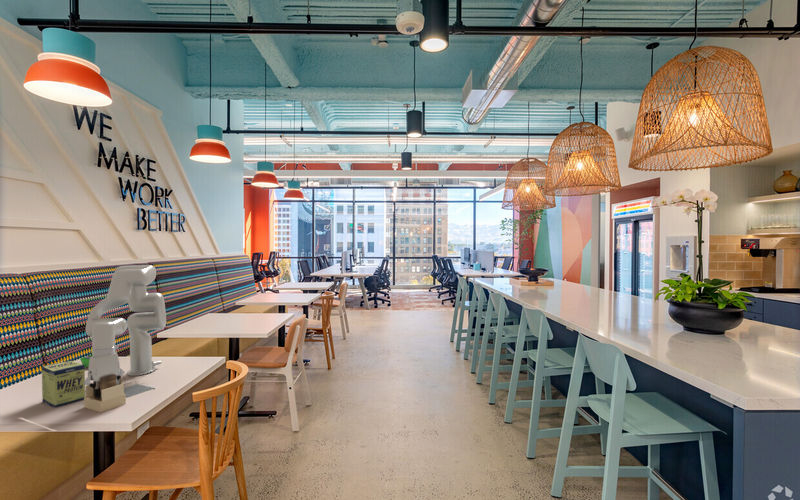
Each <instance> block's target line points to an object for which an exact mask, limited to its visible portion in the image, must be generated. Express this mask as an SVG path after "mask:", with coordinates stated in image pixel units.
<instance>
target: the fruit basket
mask: <svg viewBox="0 0 800 500" xmlns="http://www.w3.org/2000/svg"><path fill="white" fill-rule="evenodd" d="M90 353H91V354H88V355H87V356H84V357H80V358H79V360H80V362H81V364H83V365H84V368H88V366H89V360H90V357H92V356H93V350H92V349H91V350H90Z"/></svg>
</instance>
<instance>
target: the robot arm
mask: <svg viewBox="0 0 800 500" xmlns="http://www.w3.org/2000/svg"><path fill="white" fill-rule="evenodd" d="M156 277H157V269H156V267H155V266H154V265H151V264H150V265H149V264H142V265H137V264H136V265H120V266H117V267H116V268H115V269H114V273H113V275H112V277H111V281H110V284H109V287H108V291H107V296H106V297H105V298H103V299H101V300H100V301H99V302H98V303H97V304H96V305H95V306H93V308H92V309H91V310H90V312H89V313H88V318H87V320H86V324H85V334H87V336H89V337H91V343H92V345H91V346H92V347H91V350H93V356H92V357H90V360H89V366H88V367H87V377H86V378H85V381H84V384H85V386H87V385H88V386H90V387H92V388H93V392H94V397H95V398H100V388H99V385H100V381H101V378H103V377H107V376H110V375H114V374H115V375H116V383H117V382H118V380H119V379H120V378H121V379H122V377H123V375H124V374H125V371H124V370H123V369H122V368H121V365H120V359H119V355H118V352H117V350H118V349H119V346H118V345H116V337H117V336H120V335H122V334H124V333H125V332H126V330H127V329H128V334H129V356H130V357H129V358H130V359H129V360H130V364H129V365H130V367H129V368H130V370H128V371H127V372H126V375H127V376H130V377H135V376H143V374H144V375H147V373H148V374H151V373H153V371H154V370H155V371H156V366H159V365H161V364H162V360H158V361H153V351H152V336H151V335H150V333H148V331H154V330H155V331H156V330H162V329H164V328H165V327H166V325H167V312H166V311H167V310H166V304H165V298H164V295H163V294H162V293H159V292H147V286H149V285H150V284H151V283H153V282H154V281H155V279H156ZM125 304H126V305H127V304H128V307H129V310H130V311H131V312H135V313H132V314H130V315H129V316H128V317H127V320H126V319H125V318H123V317H107V318H106V317H105V318H101V317H102V316H103V315H104V314H105V313H108V312H109V311H112V310H113V309H114V310H115V309H117V308H120V307H121V306H123V305H125ZM155 371H154V372H155ZM150 372H151V373H150ZM121 376H122V377H121ZM91 381H92V382H91Z"/></svg>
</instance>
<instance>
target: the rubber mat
mask: <svg viewBox="0 0 800 500" xmlns="http://www.w3.org/2000/svg"><path fill="white" fill-rule="evenodd" d="M152 390H156V389H155V387H151V386H147V385H143V384H139V383H136V384H132V385H129V386H126V387H125V386H124V394H125V395H126V399H127V398H130V397H133V396H135V395H138V394H141V393H142V394H143V393H145V392H148V391H152Z"/></svg>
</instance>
